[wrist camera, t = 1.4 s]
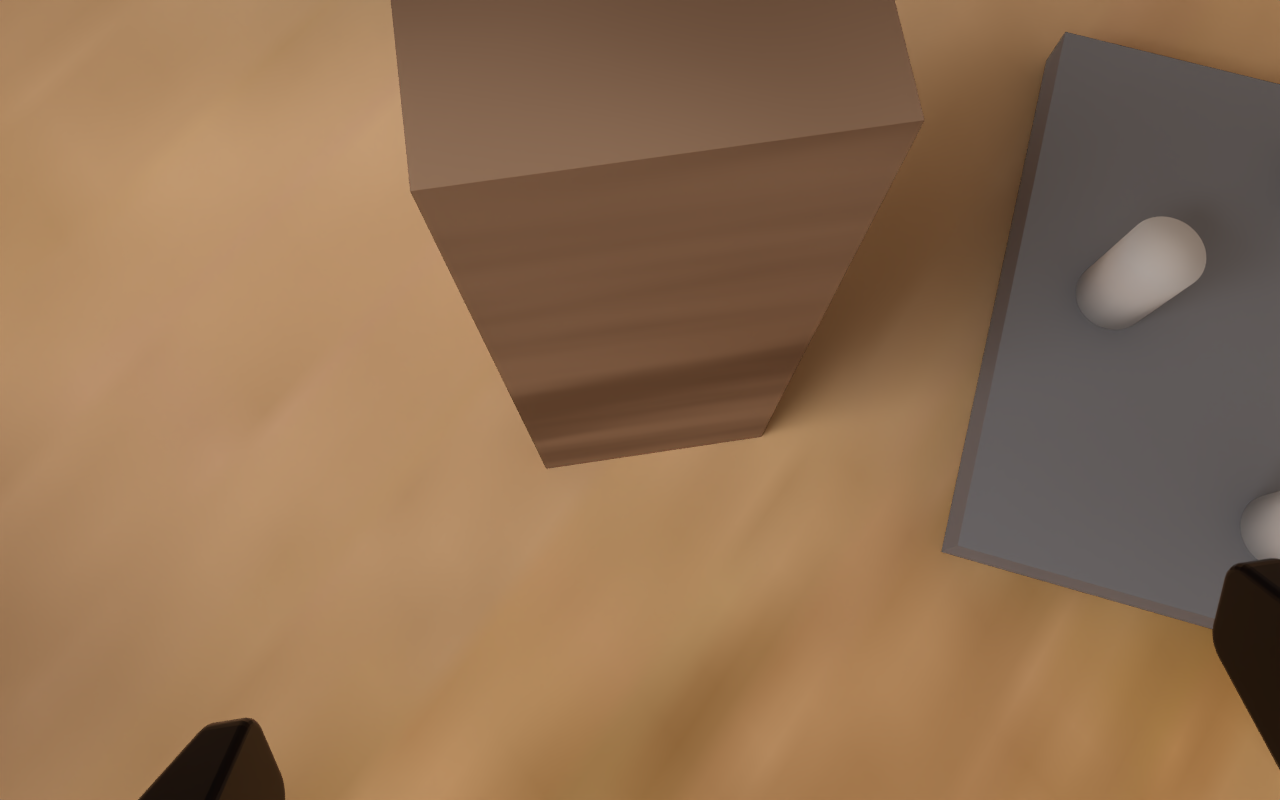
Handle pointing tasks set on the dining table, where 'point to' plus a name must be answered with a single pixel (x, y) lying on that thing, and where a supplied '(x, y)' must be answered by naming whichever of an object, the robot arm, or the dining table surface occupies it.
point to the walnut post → (650, 196)
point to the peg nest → (1133, 339)
